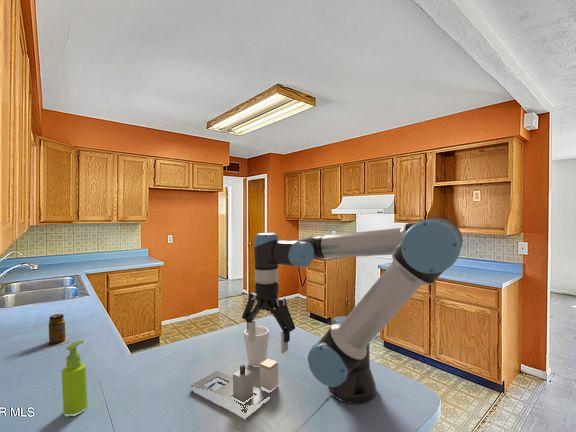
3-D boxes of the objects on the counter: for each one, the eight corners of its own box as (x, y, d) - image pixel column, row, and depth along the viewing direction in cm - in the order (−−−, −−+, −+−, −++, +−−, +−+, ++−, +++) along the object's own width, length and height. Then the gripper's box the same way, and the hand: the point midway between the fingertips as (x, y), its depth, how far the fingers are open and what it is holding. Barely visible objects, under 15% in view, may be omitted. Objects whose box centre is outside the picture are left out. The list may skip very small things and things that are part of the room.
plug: (278, 388, 102) (277, 361, 102) (270, 395, 99) (269, 367, 99) (268, 384, 105) (267, 358, 105) (260, 391, 102) (259, 363, 101)
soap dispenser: (93, 401, 98) (90, 338, 97) (79, 416, 91) (76, 349, 90) (74, 402, 97) (71, 339, 97) (58, 417, 91) (55, 349, 90)
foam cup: (246, 373, 113) (245, 337, 112) (243, 360, 121) (242, 327, 121) (272, 368, 115) (271, 334, 115) (267, 357, 124) (266, 324, 124)
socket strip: (270, 401, 96) (270, 393, 96) (245, 421, 87) (245, 413, 87) (217, 377, 110) (216, 370, 110) (191, 393, 101) (190, 385, 101)
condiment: (66, 337, 148) (65, 312, 148) (67, 342, 142) (66, 316, 141) (46, 341, 143) (45, 315, 143) (47, 347, 137) (46, 320, 136)
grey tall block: (253, 400, 96) (252, 365, 95) (243, 408, 92) (242, 371, 92) (243, 396, 98) (242, 361, 98) (233, 403, 95) (232, 367, 94)
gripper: (305, 283, 97) (306, 351, 97) (246, 274, 111) (247, 333, 112) (291, 289, 90) (292, 361, 91) (230, 278, 105) (232, 340, 106)
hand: (267, 346), depth 102 cm, fingers open, 13 cm apart
